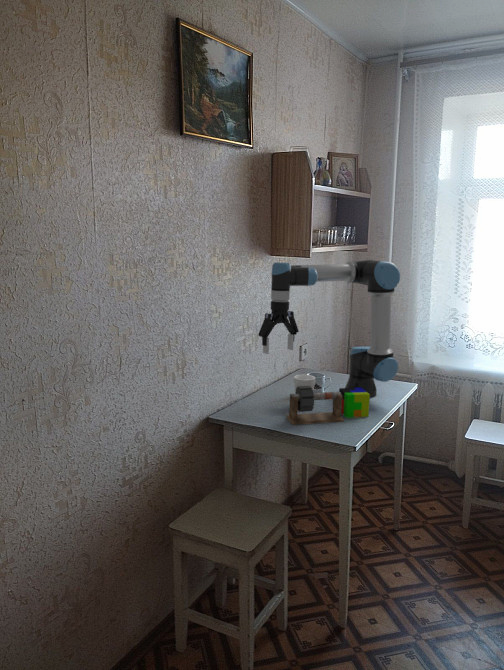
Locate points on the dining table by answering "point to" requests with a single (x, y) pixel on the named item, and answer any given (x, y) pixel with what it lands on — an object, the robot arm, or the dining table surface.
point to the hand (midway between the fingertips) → (278, 351)
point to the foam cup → (304, 381)
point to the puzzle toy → (355, 402)
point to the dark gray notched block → (305, 398)
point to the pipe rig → (316, 417)
